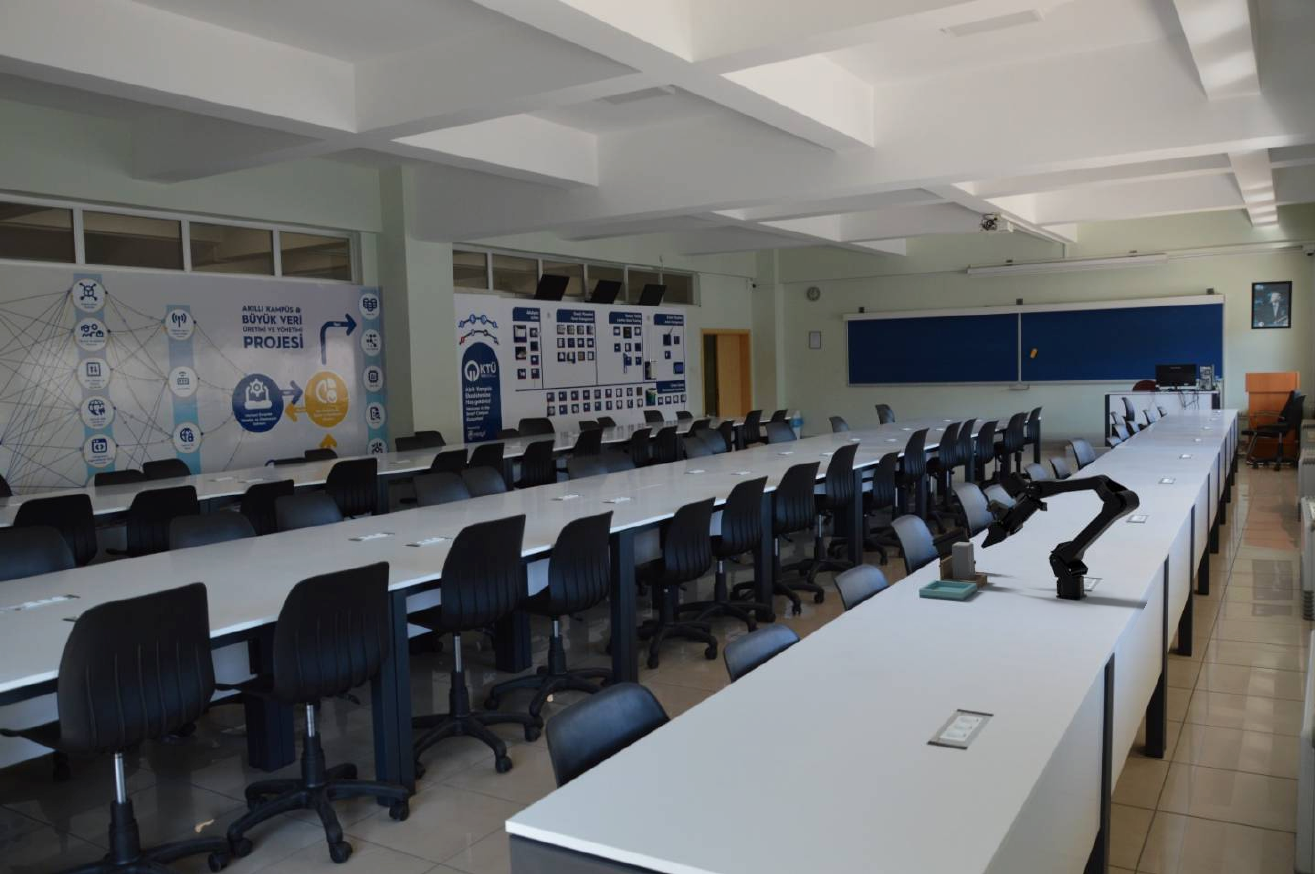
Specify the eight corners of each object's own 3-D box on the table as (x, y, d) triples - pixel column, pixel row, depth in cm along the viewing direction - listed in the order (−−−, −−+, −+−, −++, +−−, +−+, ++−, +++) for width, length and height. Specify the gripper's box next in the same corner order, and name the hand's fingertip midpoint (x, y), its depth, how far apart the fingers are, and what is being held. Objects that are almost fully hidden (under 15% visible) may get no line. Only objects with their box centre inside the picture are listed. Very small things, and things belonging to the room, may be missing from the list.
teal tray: (977, 591, 296) (976, 583, 295) (962, 601, 285) (962, 593, 284) (935, 587, 303) (934, 580, 303) (919, 597, 292) (919, 589, 292)
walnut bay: (987, 582, 306) (986, 557, 306) (976, 590, 297) (975, 564, 296) (952, 579, 313) (951, 555, 312) (940, 587, 303) (939, 561, 303)
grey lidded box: (974, 583, 305) (973, 542, 305) (969, 587, 301) (967, 545, 300) (959, 582, 308) (957, 541, 308) (953, 586, 304) (951, 544, 303)
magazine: (983, 569, 318) (961, 527, 320) (946, 584, 324) (925, 543, 326) (985, 566, 321) (963, 525, 323) (949, 581, 327) (928, 541, 330)
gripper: (1011, 487, 303) (976, 520, 310) (993, 495, 288) (957, 530, 295) (1038, 513, 299) (1002, 546, 306) (1021, 523, 284) (984, 558, 291)
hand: (986, 544), depth 300 cm, fingers open, 9 cm apart
